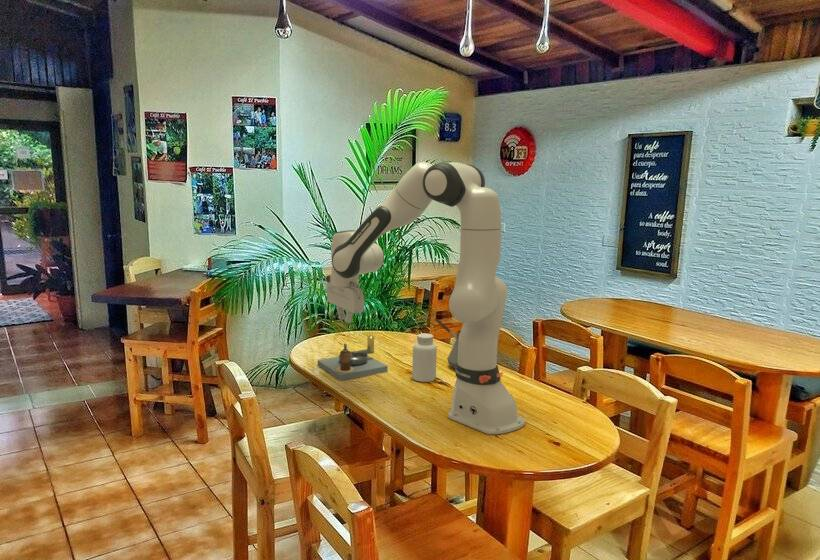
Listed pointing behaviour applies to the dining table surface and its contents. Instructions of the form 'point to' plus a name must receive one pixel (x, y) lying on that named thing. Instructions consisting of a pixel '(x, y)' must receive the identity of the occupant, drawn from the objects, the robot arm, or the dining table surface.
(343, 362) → the brown bottle
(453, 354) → the coffee pot
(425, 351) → the pill bottle
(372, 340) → the dial
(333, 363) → the board
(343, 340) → the dining table surface
